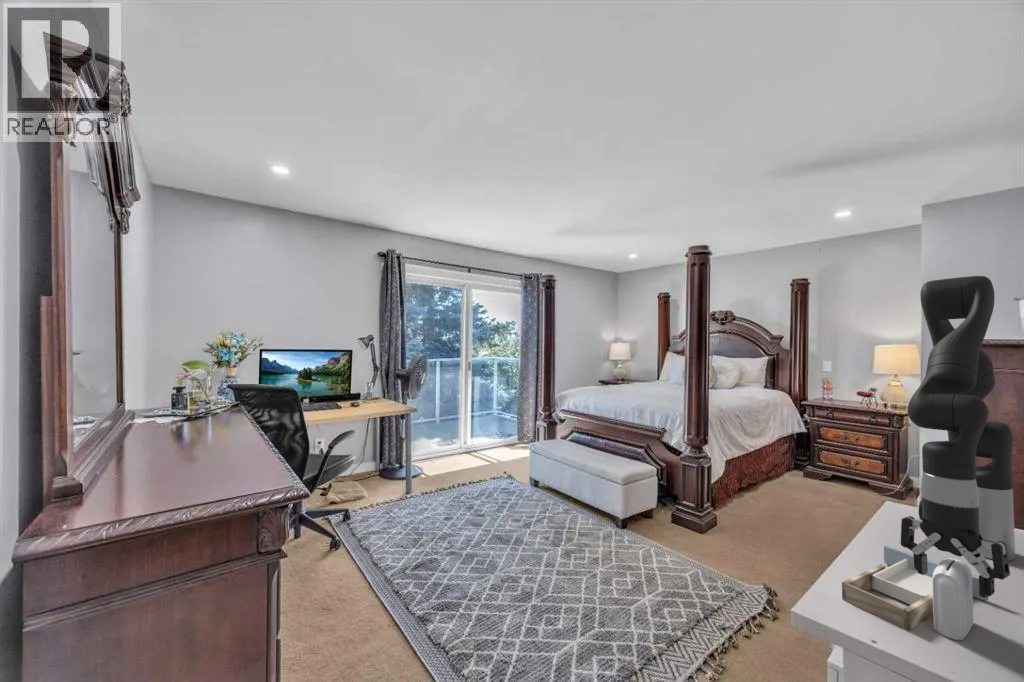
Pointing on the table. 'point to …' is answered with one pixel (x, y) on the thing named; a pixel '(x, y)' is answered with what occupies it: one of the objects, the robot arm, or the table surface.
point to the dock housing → (885, 601)
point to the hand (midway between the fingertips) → (952, 584)
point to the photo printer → (952, 598)
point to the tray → (908, 577)
